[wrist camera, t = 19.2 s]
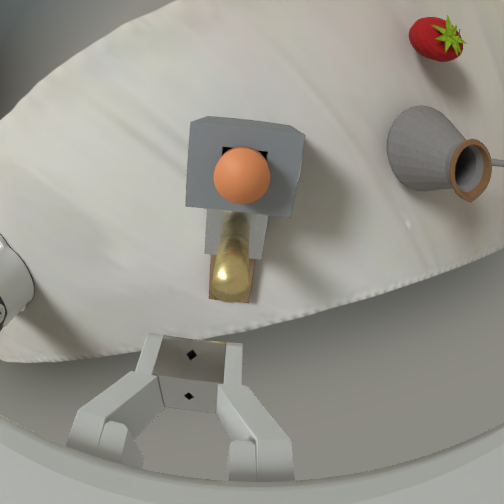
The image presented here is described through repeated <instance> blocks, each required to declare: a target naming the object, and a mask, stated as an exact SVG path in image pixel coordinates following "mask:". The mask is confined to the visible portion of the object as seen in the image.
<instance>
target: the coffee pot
mask: <svg viewBox="0 0 504 504" xmlns="http://www.w3.org/2000/svg"><path fill="white" fill-rule="evenodd" d="M387 154H388V159H389V164H390V166H391V168H392V170H393V172H394V174H395V175H396V177H397V178H398V179H399V180H400V182H401V183H403V184H404V185H406V186H407V187H408V188H411V189H414V190H417V191H431V190H440V189H449V188H453V189H454V191H455V192H456V194H457V195H458V196H460V197H461V198H462V199H464V200H466V201H469V202H472V201H474V200H475V199H476V198H478V197H479V196H480V195H481V194H482V193H483V191H484V190H485V189H486V187H487V185H488V183H489V181H490V177H491V172H492V166H502V167H504V160H497V159H491V157H490V154H489V152H488V149H487V148H486V147H485V145H484V144H483V143H482V142H480V141H478V140H475V139H469V140H466V139H465V138H464V137H463V136H462V134H461V133H460V132H459V131H458V130H457V129H456V128H455V126H454V125H453V124H452V123H451V122H450V121H449V120H448V119H447V118H446V117H445V116H444V115H443V114H442V113H441V112H440V111H438V110H436V109H434V108H432V107H428V106H416V107H411V108H409V109H408V110H406V111H404V112H402V114H401V115H400V116H399V117H398V118H397V119H396V120H395V121H394V123H393V125H392V127H391V128H390V131H389V135H388V139H387Z"/></svg>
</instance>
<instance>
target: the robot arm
mask: <svg viewBox="0 0 504 504" xmlns="http://www.w3.org/2000/svg"><path fill="white" fill-rule="evenodd" d="M33 295H34V286H33V282H32V279H31V276H30V274H29V271H28V270H27V268H26V266H25V264H24V263H23V261H22V260H21V259H20V257H19V256H18V255H17V254H16V253H15V252H14V251H13V250H12V249H11V248H10V247H9V246H8V245H7V243H6V242H5V240H4V239H3V237H2V236H1V235H0V331H1V330H2V328H3V327H5V326H6V325H7V324H8V323H9V322H10V321H11V320H12V319H13V318H14V317H15V316H16V315H17V314H18V313H19V312H20V311H21V312H23V311H24V310H25V309H26V305H27V303H28V302H29V301H31V300H32V298H33ZM164 407H168V408H175V409H184V410H192V411H199V412H207V413H216V415H217V417H218V419H219V420H220V422H221V424H222V426H223V427H224V429H225V430H226V432H227V434H228V436H229V437H230V439H231V441H232V443H231V444H230V448H229V453H228V459H227V465H226V475H225V481H222V480H209V479H200V478H191V477H184V476H177V475H171V474H165V473H159V472H154V471H149V470H144V469H142V466H143V460H144V457H143V455H142V453H141V451H140V450H139V448H138V446H137V444H136V443H135V441H134V440H135V439H136V438H137V437H138V436H139V435H140V434H141V433H142V432H143V431H144V430H145V428H146V427H147V426H148V425H149V424H150V423H151V422H152V421H153V420H154V419H155V418H156V417H157V416H158V414H160V413H161V412H162V411H163V410H164ZM0 504H504V423H503V424H500V425H498V426H496V427H494V428H492V429H490V430H488V431H486V432H484V433H482V434H480V435H477V436H475V437H473V438H471V439H468V440H466V441H464V442H461V443H459V444H456V445H454V446H451V447H449V448H446V449H443V450H441V451H438V452H435V453H432V454H429V455H427V456H423V457H420V458H417V459H414V460H410V461H407V462H403V463H399V464H396V465H392V466H388V467H384V468H380V469H375V470H370V471H365V472H360V473H354V474H349V475H342V476H335V477H328V478H320V479H309V480H296V481H295V479H294V468H293V458H292V448H291V440H290V439H289V438H288V436H287V435H286V434H285V433H284V431H283V430H282V429H281V428H280V427H279V425H278V424H277V423H276V422H275V420H274V419H273V418H272V417H271V416H270V414H269V413H268V412H267V410H266V409H265V408H264V407H263V405H262V404H261V403H260V402H259V400H258V399H257V398H256V397H255V395H254V394H253V393H252V392H251V390H250V388H249V387H248V386H243V345H242V344H241V343H228V342H218V341H206V340H197V339H195V340H193V339H186V338H180V337H173V336H167V335H160V334H154V333H149V334H148V336H147V337H146V340H145V343H144V346H143V349H142V352H141V355H140V358H139V361H138V364H137V367H136V370H135V372H133V371H130V372H129V373H128V374H126V375H125V376H123V377H122V378H121V379H119V380H118V381H117V382H116V383H114V384H113V385H111V386H110V387H109V388H107V389H106V390H105V391H103V392H102V393H101V394H99V395H98V396H96V397H95V398H94V399H92V400H91V401H90V402H88V403H87V404H86V405H84V406H83V407H81V408H80V409H79V410H78V412H77V415H76V417H75V420H74V423H73V425H72V428H71V431H70V434H69V437H68V440H67V443H66V446H64V445H62V444H59V443H57V442H54V441H52V440H50V439H47V438H45V437H43V436H41V435H38V434H36V433H34V432H32V431H30V430H28V429H26V428H24V427H22V426H20V425H18V424H16V423H14V422H12V421H10V420H9V419H7V418H5V417H3V416H1V415H0Z"/></svg>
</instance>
